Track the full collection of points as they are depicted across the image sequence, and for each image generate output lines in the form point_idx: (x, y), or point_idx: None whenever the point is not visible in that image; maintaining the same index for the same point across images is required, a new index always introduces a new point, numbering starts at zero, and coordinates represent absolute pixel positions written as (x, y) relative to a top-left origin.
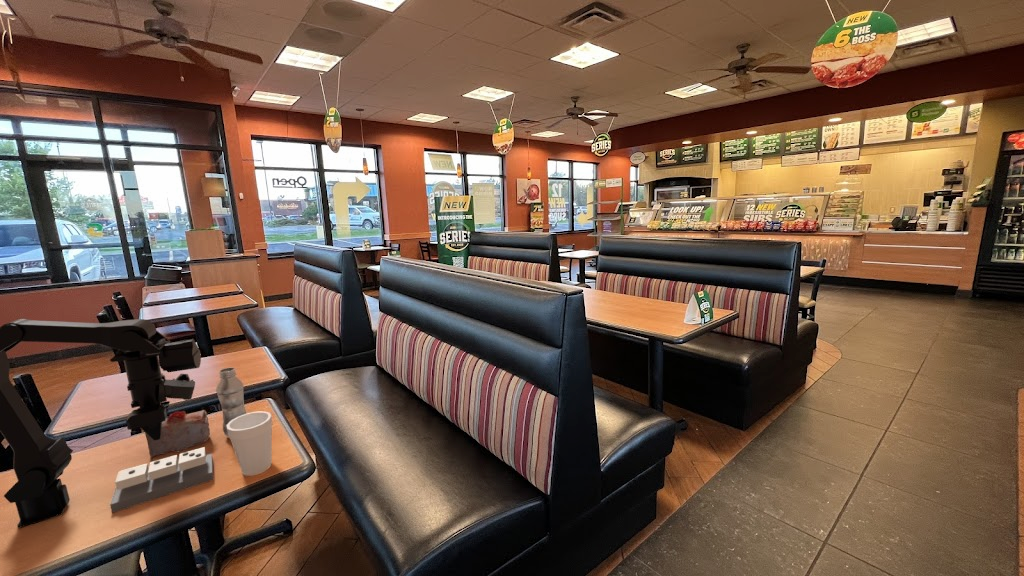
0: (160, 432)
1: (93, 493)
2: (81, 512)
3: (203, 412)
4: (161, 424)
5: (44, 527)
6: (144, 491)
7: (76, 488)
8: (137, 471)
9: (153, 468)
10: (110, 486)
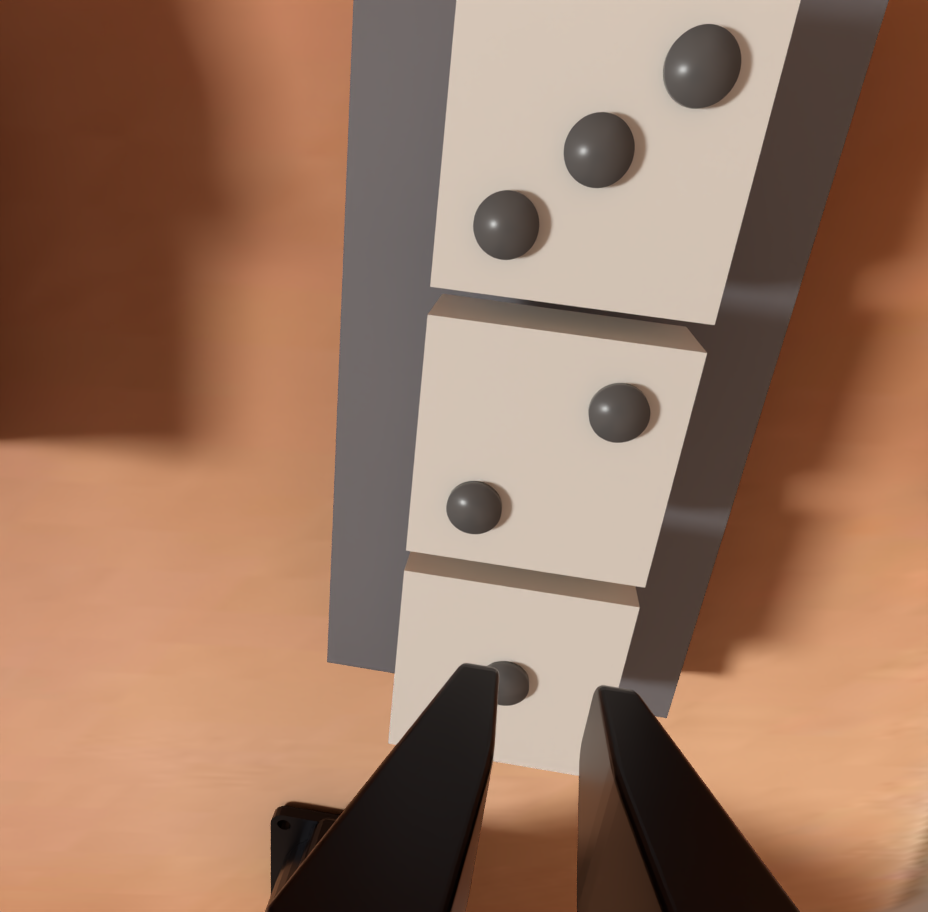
0: (702, 808)
1: (298, 722)
2: (495, 771)
3: None
4: (455, 885)
5: (514, 876)
6: (674, 548)
7: (165, 774)
8: (526, 647)
9: (593, 541)
10: (271, 656)
